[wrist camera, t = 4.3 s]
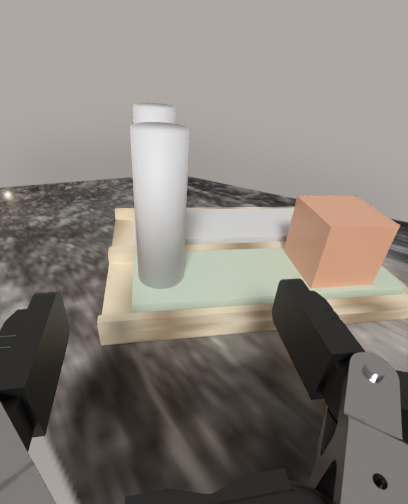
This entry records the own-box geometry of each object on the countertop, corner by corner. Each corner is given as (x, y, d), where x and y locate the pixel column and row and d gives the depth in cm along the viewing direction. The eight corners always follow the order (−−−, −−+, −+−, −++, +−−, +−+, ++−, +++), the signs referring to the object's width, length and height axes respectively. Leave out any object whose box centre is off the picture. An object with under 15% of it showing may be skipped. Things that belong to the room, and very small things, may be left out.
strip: (313, 215, 35) (344, 111, 29) (342, 243, 30) (387, 123, 24) (135, 218, 31) (128, 99, 25) (134, 250, 26) (125, 111, 20)
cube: (336, 249, 27) (355, 195, 24) (372, 284, 23) (400, 225, 20) (283, 250, 26) (297, 195, 23) (310, 288, 22) (331, 227, 19)
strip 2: (354, 254, 28) (405, 129, 22) (400, 297, 23) (480, 151, 17) (134, 263, 24) (124, 116, 19) (132, 316, 20) (118, 139, 14)
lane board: (322, 221, 37) (327, 206, 36) (424, 316, 23) (436, 297, 22) (116, 225, 32) (115, 208, 31) (100, 345, 19) (97, 322, 18)
